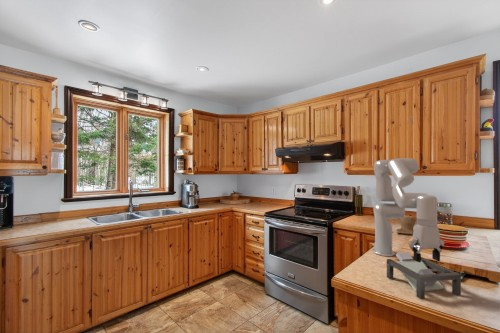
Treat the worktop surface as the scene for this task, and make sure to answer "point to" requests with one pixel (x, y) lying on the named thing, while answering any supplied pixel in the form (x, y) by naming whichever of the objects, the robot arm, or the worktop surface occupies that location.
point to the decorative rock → (441, 272)
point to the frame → (427, 276)
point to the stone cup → (406, 225)
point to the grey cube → (425, 272)
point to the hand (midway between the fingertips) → (426, 260)
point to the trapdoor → (415, 270)
